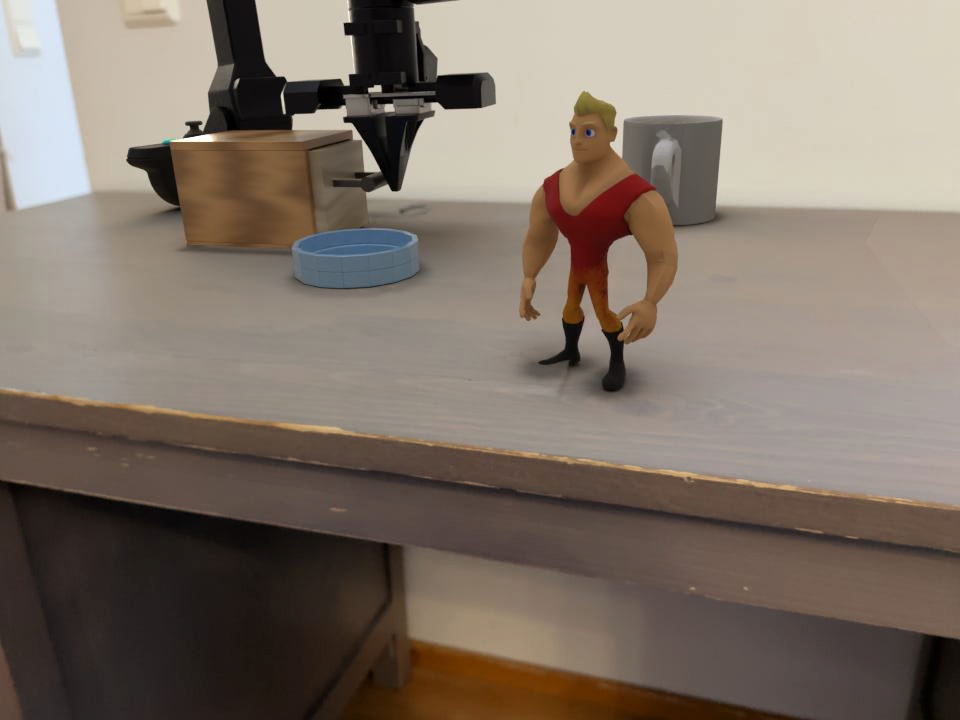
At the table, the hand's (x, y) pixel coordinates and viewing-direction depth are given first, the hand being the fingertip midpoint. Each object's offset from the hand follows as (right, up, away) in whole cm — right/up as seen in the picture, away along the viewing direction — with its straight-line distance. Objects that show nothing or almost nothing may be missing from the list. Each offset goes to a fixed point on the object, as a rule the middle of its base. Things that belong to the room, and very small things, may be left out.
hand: (396, 190), depth 73 cm
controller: (-29, +3, +24) cm, 38 cm away
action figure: (+14, -17, -30) cm, 37 cm away
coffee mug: (+27, -1, +9) cm, 29 cm away
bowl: (-2, -9, -9) cm, 13 cm away
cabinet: (-12, -4, +5) cm, 14 cm away
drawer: (-9, -3, +4) cm, 10 cm away
